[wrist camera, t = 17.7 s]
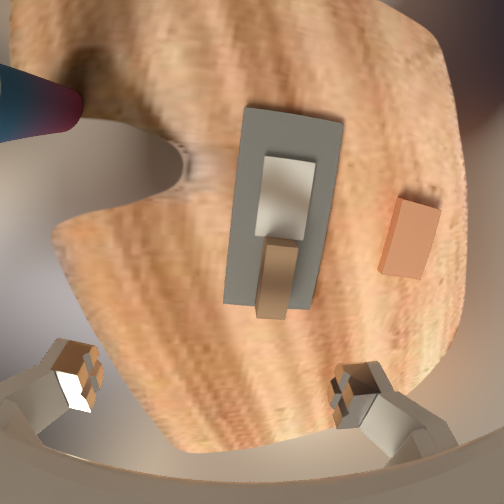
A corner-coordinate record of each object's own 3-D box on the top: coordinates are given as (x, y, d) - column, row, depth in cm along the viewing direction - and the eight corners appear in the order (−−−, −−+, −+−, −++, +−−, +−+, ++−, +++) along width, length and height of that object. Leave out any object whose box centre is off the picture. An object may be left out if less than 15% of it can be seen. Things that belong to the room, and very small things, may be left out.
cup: (48, 82, 25) (-42, 66, 11) (95, 81, 26) (10, 54, 12) (37, 138, 27) (-55, 149, 13) (83, 142, 28) (-8, 151, 14)
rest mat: (244, 108, 28) (244, 107, 27) (341, 123, 29) (343, 123, 28) (223, 300, 35) (223, 303, 34) (308, 306, 36) (309, 309, 35)
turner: (289, 305, 35) (294, 320, 32) (245, 302, 34) (246, 317, 31) (314, 162, 30) (322, 165, 27) (264, 155, 29) (267, 157, 26)
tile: (375, 268, 35) (395, 196, 32) (413, 273, 36) (433, 207, 33) (381, 274, 34) (402, 199, 31) (420, 279, 34) (441, 210, 31)
